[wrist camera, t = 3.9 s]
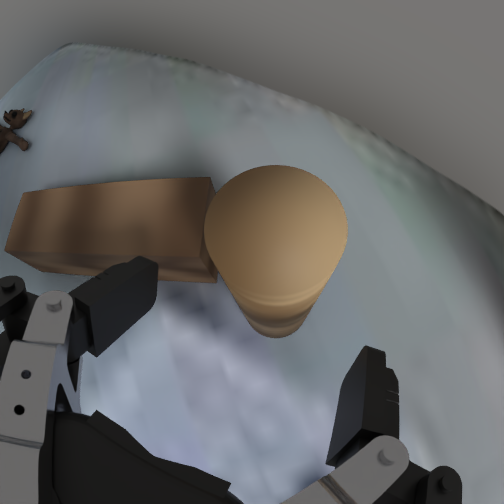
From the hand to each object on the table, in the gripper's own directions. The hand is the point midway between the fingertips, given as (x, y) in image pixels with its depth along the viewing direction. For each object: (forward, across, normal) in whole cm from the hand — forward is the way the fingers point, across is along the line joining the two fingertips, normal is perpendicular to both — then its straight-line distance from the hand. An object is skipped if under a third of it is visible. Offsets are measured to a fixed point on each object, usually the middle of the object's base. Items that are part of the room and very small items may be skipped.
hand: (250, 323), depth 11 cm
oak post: (+8, 0, +4) cm, 9 cm away
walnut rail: (+8, +13, +5) cm, 16 cm away
